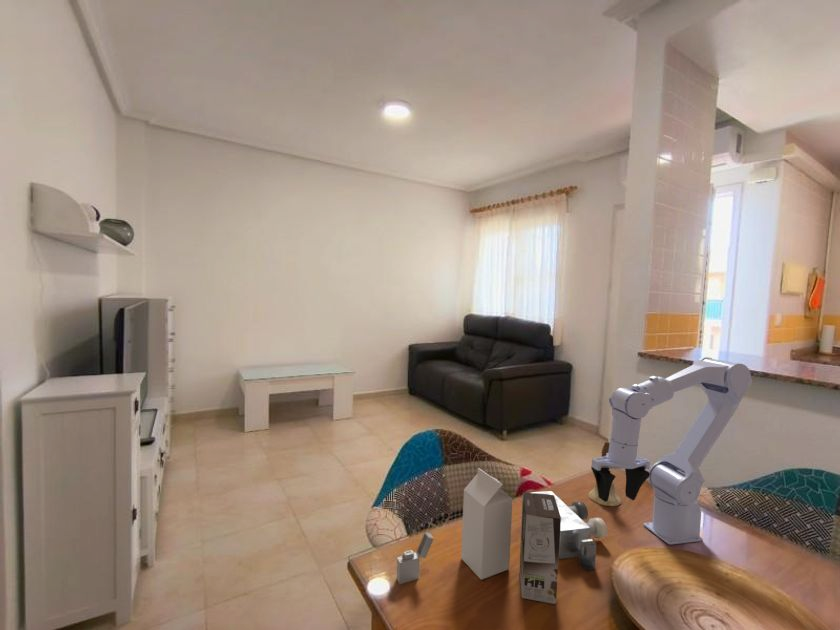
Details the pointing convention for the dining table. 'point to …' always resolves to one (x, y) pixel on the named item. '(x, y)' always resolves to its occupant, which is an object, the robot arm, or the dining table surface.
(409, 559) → the lighter
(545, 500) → the coffee box
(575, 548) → the mount
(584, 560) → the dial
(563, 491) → the dining table surface
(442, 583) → the dining table surface
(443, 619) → the dining table surface
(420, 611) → the dining table surface
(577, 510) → the knob black
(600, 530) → the knob cream
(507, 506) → the milk carton
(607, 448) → the hand bell
